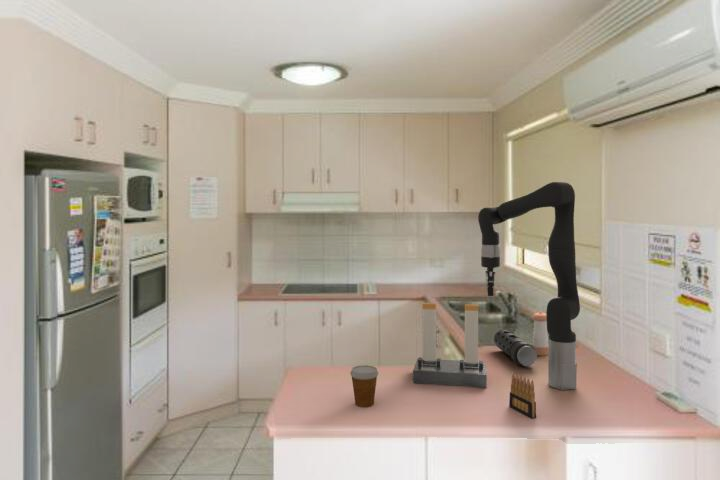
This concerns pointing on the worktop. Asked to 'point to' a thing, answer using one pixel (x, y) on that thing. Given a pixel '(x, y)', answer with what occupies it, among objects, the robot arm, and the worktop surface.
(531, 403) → the ammunition clip
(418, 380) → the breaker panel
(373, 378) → the disposable coffee cup
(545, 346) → the pepper shaker
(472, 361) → the lever near
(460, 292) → the worktop surface
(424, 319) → the lever far
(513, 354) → the muzzle brake
